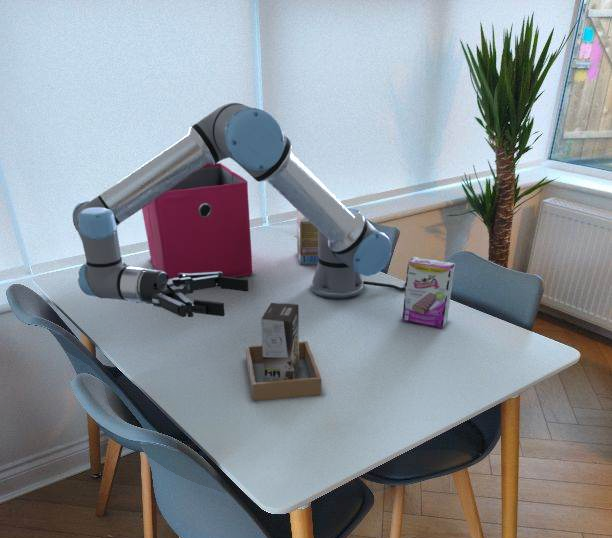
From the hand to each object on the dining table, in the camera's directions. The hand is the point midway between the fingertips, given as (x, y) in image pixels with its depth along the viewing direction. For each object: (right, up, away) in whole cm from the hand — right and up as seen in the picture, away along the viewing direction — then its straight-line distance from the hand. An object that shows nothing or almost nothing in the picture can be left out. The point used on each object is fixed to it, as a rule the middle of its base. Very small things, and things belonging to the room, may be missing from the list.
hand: (236, 297), depth 128 cm
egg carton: (-42, +16, +58) cm, 74 cm away
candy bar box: (+46, -1, +32) cm, 56 cm away
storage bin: (-20, +20, +66) cm, 72 cm away
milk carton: (+18, +25, +73) cm, 79 cm away
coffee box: (+9, -17, +8) cm, 21 cm away
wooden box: (+9, -17, +7) cm, 21 cm away
